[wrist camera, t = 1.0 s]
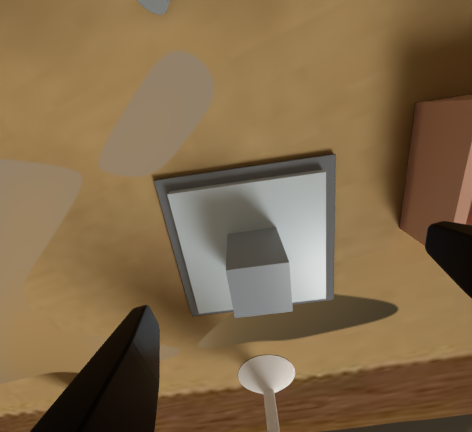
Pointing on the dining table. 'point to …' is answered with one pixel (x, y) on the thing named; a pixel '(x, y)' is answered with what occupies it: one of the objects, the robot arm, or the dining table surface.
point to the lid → (254, 242)
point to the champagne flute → (267, 382)
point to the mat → (245, 174)
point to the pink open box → (439, 166)
